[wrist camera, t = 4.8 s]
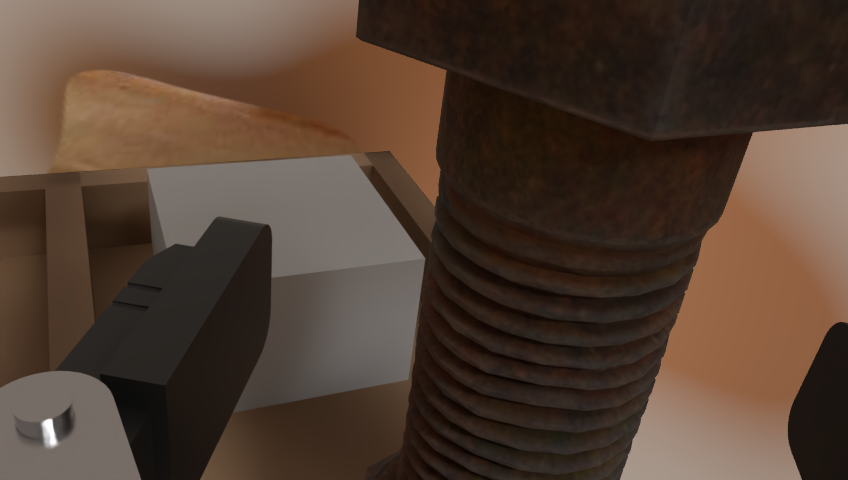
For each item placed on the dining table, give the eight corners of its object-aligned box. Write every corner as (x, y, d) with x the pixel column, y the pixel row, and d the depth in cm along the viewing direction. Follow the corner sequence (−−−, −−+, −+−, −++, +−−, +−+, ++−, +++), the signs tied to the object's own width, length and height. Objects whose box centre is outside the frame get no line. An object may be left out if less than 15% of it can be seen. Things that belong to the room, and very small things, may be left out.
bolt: (348, 938, 12) (524, -83, 5) (265, 646, 16) (284, -178, 8) (643, 787, 15) (1085, -51, 7) (509, 564, 18) (699, -136, 11)
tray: (381, 232, 31) (389, 151, 29) (564, 506, 20) (595, 404, 18) (-349, 311, 22) (-401, 203, 20) (-697, 857, 12) (-870, 732, 10)
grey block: (342, 262, 26) (350, 155, 24) (408, 379, 22) (425, 258, 20) (154, 286, 24) (146, 168, 22) (184, 422, 19) (176, 289, 17)
